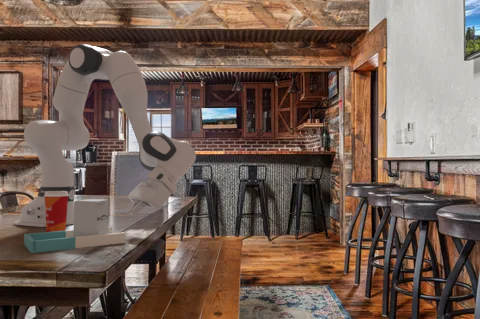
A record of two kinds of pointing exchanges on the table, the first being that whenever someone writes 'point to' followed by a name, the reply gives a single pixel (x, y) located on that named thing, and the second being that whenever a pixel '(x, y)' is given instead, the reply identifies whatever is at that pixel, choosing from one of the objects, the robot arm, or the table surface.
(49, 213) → the paper cup
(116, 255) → the table surface
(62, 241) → the push lane
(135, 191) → the robot arm
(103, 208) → the supplement box
